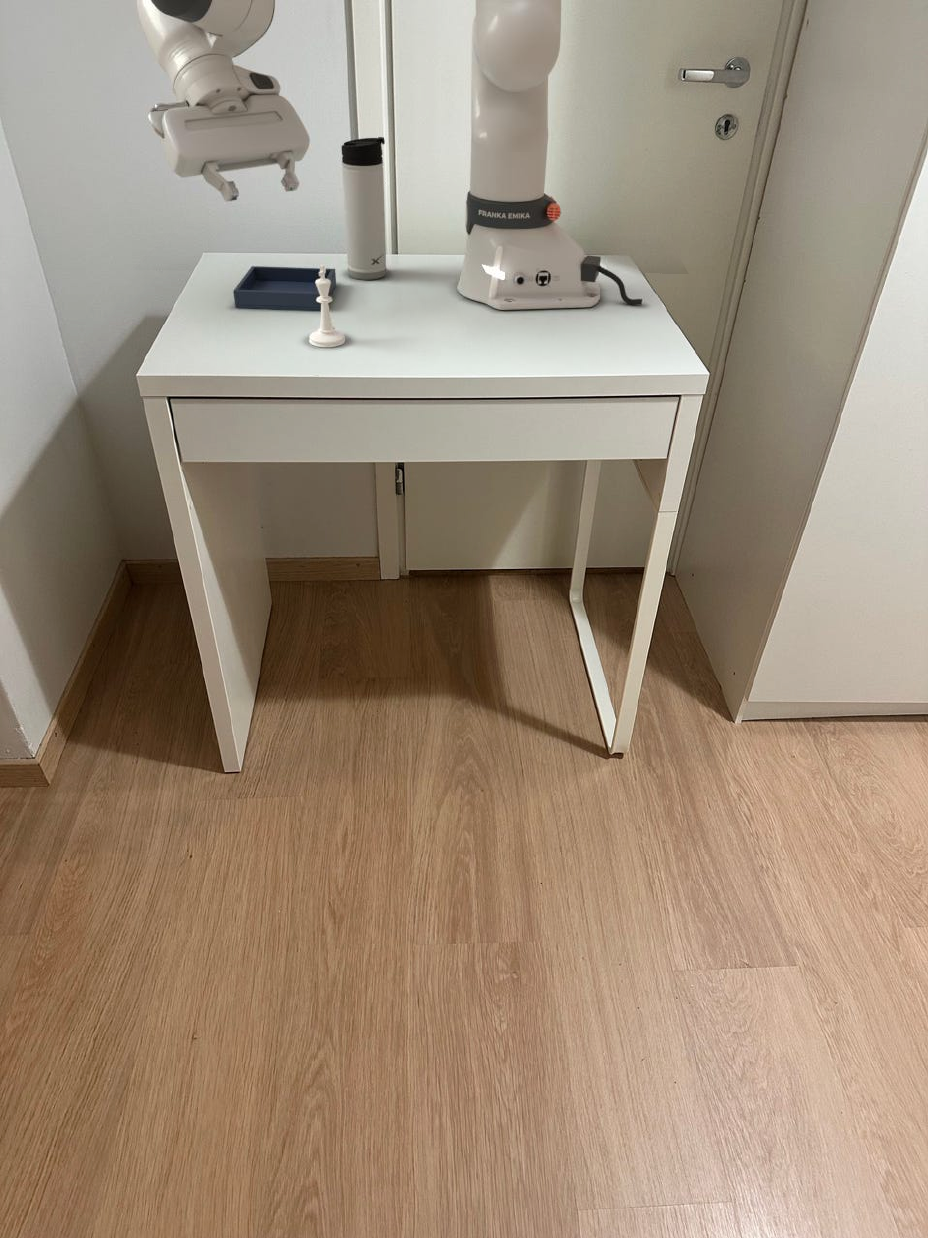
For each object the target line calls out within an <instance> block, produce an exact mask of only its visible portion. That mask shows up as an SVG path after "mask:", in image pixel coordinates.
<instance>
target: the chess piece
mask: <svg viewBox="0 0 928 1238" xmlns="http://www.w3.org/2000/svg"><path fill="white" fill-rule="evenodd" d="M319 268H320V272H319V276H321V278H320V279H318V280H316V282H315V283H316V286H317V288H318V291H319V293H320V297H318V298H317V300H316V301H317V302H319V303H321V311H320V324H319V327H318V328H317V330H314V331H313V332H312V333H311V332H310V335H309V340H308V342H309V344H310V345H312V346H314V347H317V348H335V347H339V346H342V345H344V343H345V342H346V338H345V334H344V333H343V332H342V331H340V330H337V329H336V328H335V327H334V326H333V322H332V316H331V313H330V312H331V311H330V307H329V304H330V303H332V302H333V297H332V296H331V297H329V296H328V293H329V288H330V284H331V281H330V280H329V279H326V278H325V273H326V269H327V268H325V265H324V264H321V265H319Z"/></svg>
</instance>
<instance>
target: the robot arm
mask: <svg viewBox="0 0 928 1238" xmlns="http://www.w3.org/2000/svg"><path fill="white" fill-rule="evenodd" d="M136 9H137V15H138V19H139V22H140V23H139V24H140V26H141V29H142V31H143V33H144V36H145V39H146V40H147V42H148V44H149V46H150V47H149V48H150V49H151V51H152V53H153V55H154V57H155V59H156V61H157V62H158V64H159V66H160V68H161V69H162V70H163V71H164V72H165V73H166V75H168V77H169V80H170V84H171V88H172V91H173V93H174V95H175V97H176V99H177V101H174V102H173V101H172V102H168V103H165V102H160V103H155V104H154V105H153V107H152V108H151V109H149V111H148V115H147V116H148V121H149V123H150V125H151V127H152V129H153V131H154V132H155V133H156V135H158V137H159V140H160V144H161V147H162V151H163V153H164V155H165V159H166V160H167V162H168V165H169V167H170V169H171V171H172V172H173V173H174V174H175V175H177V176H179V177H180V178H191V177H197V176H203V179H204V180H205V182H206V183H208V184H209V185H210V186H212V187H213V188H214V189H215V190H217V191H218V192H220V195H221V197H222V198H223V200H224V201H225V202H232V201H233V202H234V201H237V199H238V197H239V195H240V192H239V189H238V188H237V186H236V184H235V181H234V180H230V181H229V180H227V179H226V178H225V177H224V176H223V175H221V173H225V172H233V171H238V170H239V171H240V170H245V169H246V170H247V169H253V168H258V167H259V168H261V167H267V166H274V165H278V166H279V168H280V170H282V171H284V170H285V171H284V174H283V177H282V178H281V180H280V183H281V185H282V186H283V187H284V190H285V192H286V193H287V192H294V191H297V189H298V188H299V186H300V181H299V179H298V177H297V175H296V173H295V171H296V169H295V168H296V162H300V161H302V160H304V157H305V155H306V154H307V151H308V150H309V147H310V142H311V139H310V135H309V133H308V131H307V129H306V127H305V125H304V123H303V121H302V119H301V117H300V115H299V114H298V113H297V111H296V108H294V106H293V105H292V104H291V102H290V101H289V100H288V99H287V98H285V97H284V96H282V95H280V93H281V85H280V83H279V81H278V79H277V78H276V77H274V76H273V75H270V74H269V75H268V74H264V73H262V72H261V73H260V72H256V71H254V70H253V71H252V70H250V69H247V68H244V67H242V66H239V65H236V64H235V63H234V61H233V58H236V57H238V56H240V55H242V54H243V53H245V52H246V51H247V50H249V49H250V48H252V47H253V46H254V45H255V44H257V42H258V41H259V40H261V39H262V38H263V37H264V36H265V35H266V34H267V32H268V30H269V29H270V27H271V25H272V22H273V19H274V16H275V9H276V0H136ZM561 31H562V0H475V15H474V18H473V21H472V26H471V56H470V57H471V64H470V65H471V66H470V67H471V71H470V72H471V74H470V77H471V80H470V84H471V85H470V125H471V127H470V128H471V130H470V171H469V172H470V173H469V191H468V192H467V195H466V200H465V226H464V227H465V231H466V233H467V235H466V244H465V251H464V258H463V263H462V268H461V272H460V276H459V280H458V283H457V286H456V289H457V292H458V293H459V294H460V295H461V296H463V297H465V298H467V299H470V300H472V301H476V302H479V303H483V304H486V305H488V306H489V307H491V308H494V309H496V310H500V311H511V310H512V311H513V310H542V309H543V310H545V309H573V308H575V309H577V308H591V307H593V306H595V305H597V304H598V303H599V301H600V300H601V289H600V285H599V283H598V281H597V278H598V276H599V274H602V275H604V276H606V277H607V278H610V279H611V280H612V281H613V282H614V283H616V285H617V286H618V289H619V295H620V298H621V299H622V301H623V303H625V304H627V305H629V306H630V305H631V306H634V305H635V306H637V305H642V304H643V298H629V297H628V295H627V292H626V287H625V284H624V282H623V280H622V279H621V278H620V277H619V276H618V275H616V273H614V272H612V271H610V270H608V269H606V268H604V267H603V266H601V259H602V258H601V256H599V255H598V256H597V255H590V254H589V255H588V254H587V255H586V253H585V251H584V249H583V247H582V246H581V245H580V244H579V243H578V242H577V241H576V240H575V239H574V238H573V237H571V236H570V235H569V234H568V233H567V231H565V230H564V229H563V228H562V227H561V226H560V225H558V223H556V222H555V221H557V220H559V218H560V217H561V215H562V210H561V207H560V205H559V204H558V202H557V201H556V200H555V199H554V198H553V196H551V195H550V196H549V195H548V194H546V193H545V183H546V169H547V157H548V156H547V155H548V145H549V117H548V116H549V109H548V108H549V75H550V74H551V73H552V71H553V69H554V68H555V65H556V63H557V61H558V58H559V53H560V51H561V50H560V49H561V37H562V36H561V33H562V32H561Z"/></svg>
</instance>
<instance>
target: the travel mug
mask: <svg viewBox="0 0 928 1238" xmlns="http://www.w3.org/2000/svg"><path fill="white" fill-rule="evenodd" d="M385 144H386V141H385V137H384V136H379V137H364V138H363V137H362V138H357V139H352V140H348V141H345V142H344V143H343V144H342V145H341V147H340V148H341V165H342V168H341V171H342V172H341V173H342V186H343V187H342V188H343V189H342V190H343V205H344V224H345V241H346V242H345V243H346V255H347V256H346V259H347V274H348V276H349V277H351V278H353V279H356V280H359V281H361V280H362V281H373V280H380V279H382V278H384V277H385V276H386V275H387V253H386V251H387V250H386V249H387V247H386V218H385V187H384V186H385V184H384V182H385V181H384V161H383V148H382V145H385Z"/></svg>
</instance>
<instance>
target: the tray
mask: <svg viewBox="0 0 928 1238" xmlns="http://www.w3.org/2000/svg"><path fill="white" fill-rule="evenodd" d="M325 269H326V273H325V278H326V279H329V280H330V281H331V284H330V288H329V293H328V296H329V297H331V298H332V295H333V293H334V290H335V288H336V287H337V278H336V277H337V275H336V268H325ZM319 272H320V267H319V268H318V267H316V268H315V267H290V266H265V265H264V266H262V265H261V266H259V265H252V266H251V267H250V268H249V269H248V271H247V272H246V273H245V275H244V276H243V277H242V278H241V280H239V283H238V284H237V285H236V287H234V289H233V290H232V292H233V300H234V307H235V309H254V310H255V309H257V310H259V309H260V310H282V311H283V310H285V311H286V310H287V311H313V312H315V311H316V312H321V303H319V302H317V301H316V300H317V298H318V297H320V293H319V291H318V288H317V286H316V283H315V282H316V280H318V279H320V278H321V276H319Z"/></svg>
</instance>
